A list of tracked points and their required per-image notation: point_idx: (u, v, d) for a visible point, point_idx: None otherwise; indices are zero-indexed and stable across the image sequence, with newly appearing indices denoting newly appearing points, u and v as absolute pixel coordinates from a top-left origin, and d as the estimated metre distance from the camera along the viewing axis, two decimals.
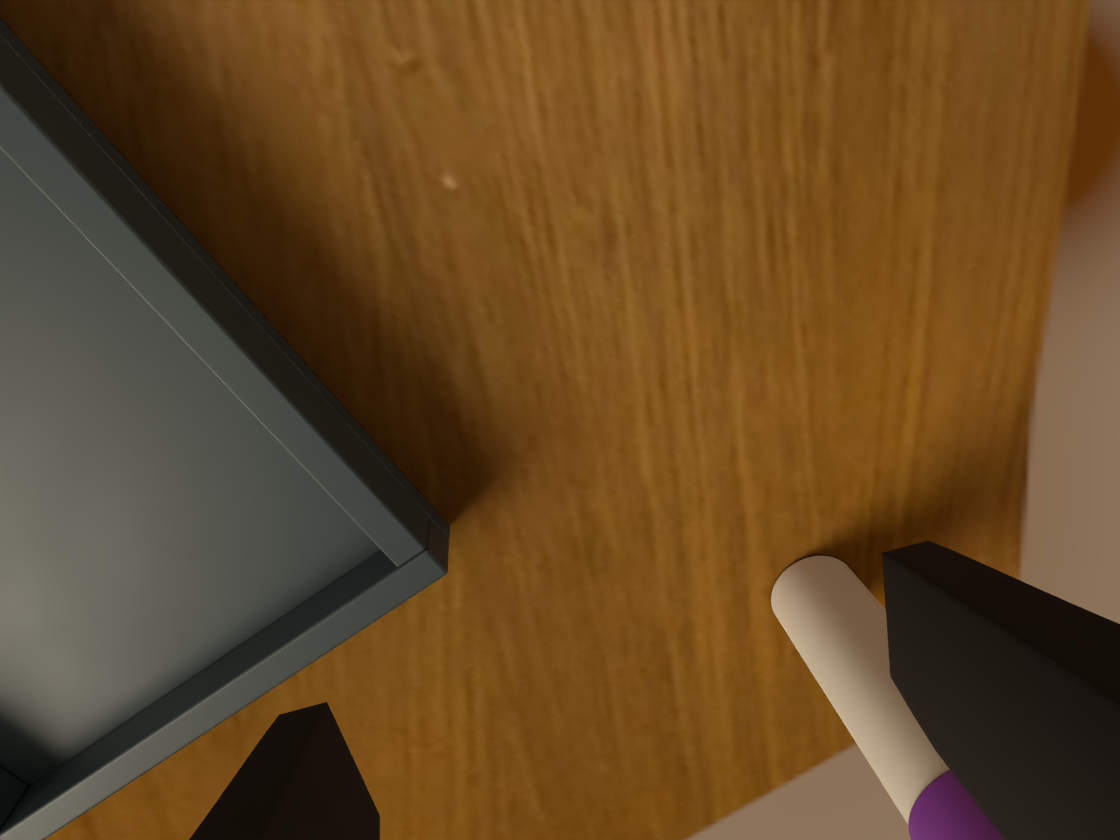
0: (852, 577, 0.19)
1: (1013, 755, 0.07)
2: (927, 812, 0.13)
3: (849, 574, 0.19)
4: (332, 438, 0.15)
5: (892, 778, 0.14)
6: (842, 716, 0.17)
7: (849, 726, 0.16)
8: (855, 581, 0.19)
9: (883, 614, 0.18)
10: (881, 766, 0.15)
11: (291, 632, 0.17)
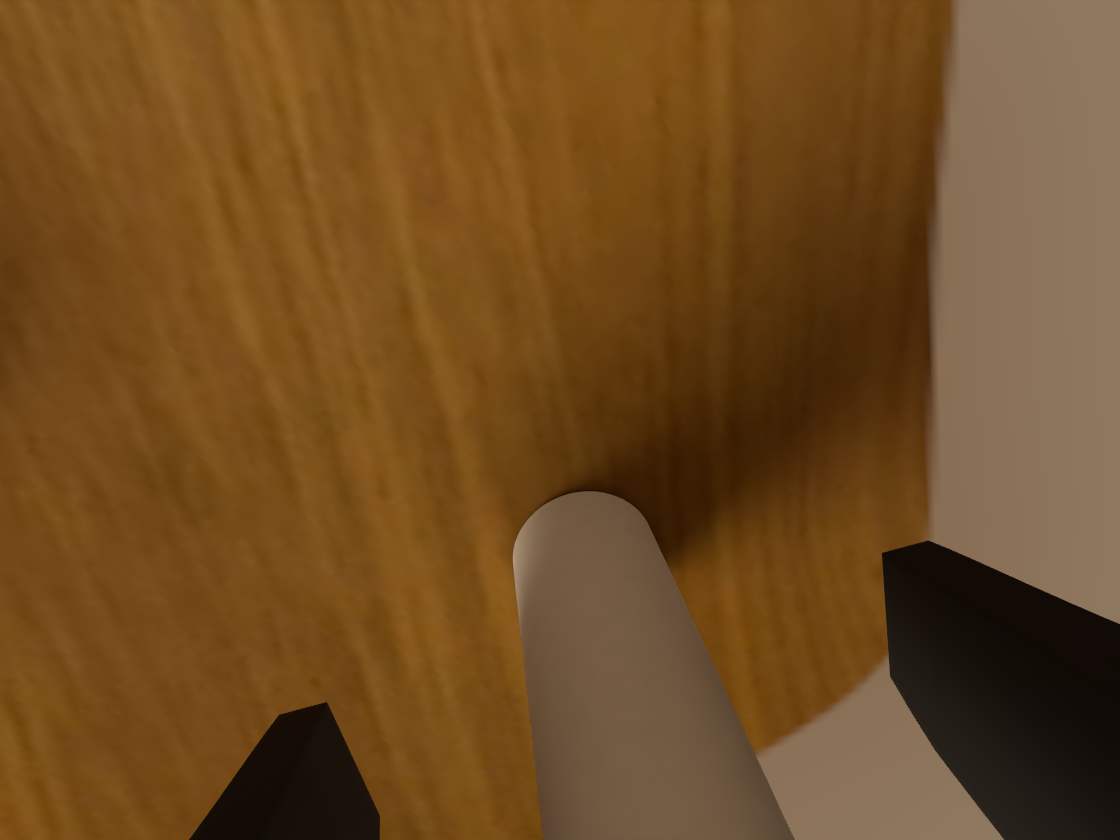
0: (627, 523, 0.11)
1: (1013, 755, 0.07)
2: None
3: (624, 519, 0.11)
4: None
5: None
6: None
7: None
8: (628, 529, 0.11)
9: (650, 582, 0.10)
10: None
11: None
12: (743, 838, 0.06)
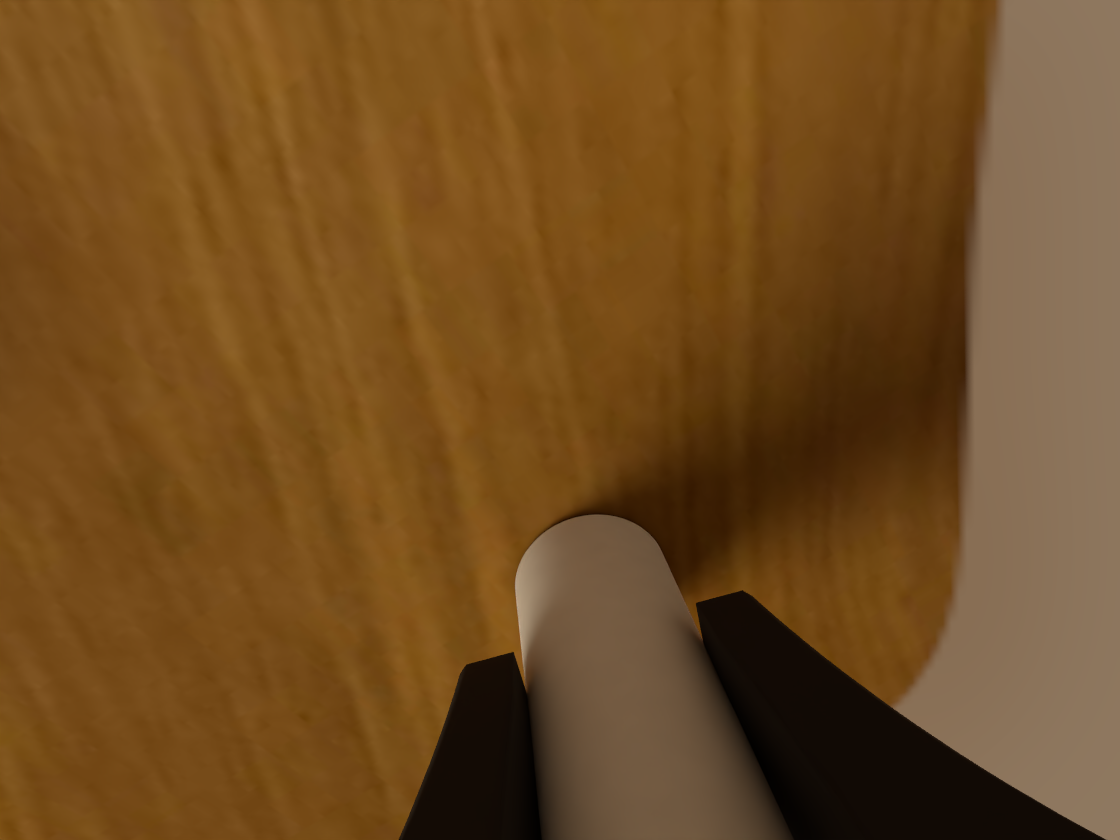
0: (639, 552, 0.10)
1: (787, 818, 0.07)
2: None
3: (635, 546, 0.10)
4: None
5: None
6: None
7: None
8: (640, 558, 0.10)
9: (665, 621, 0.09)
10: None
11: None
12: None
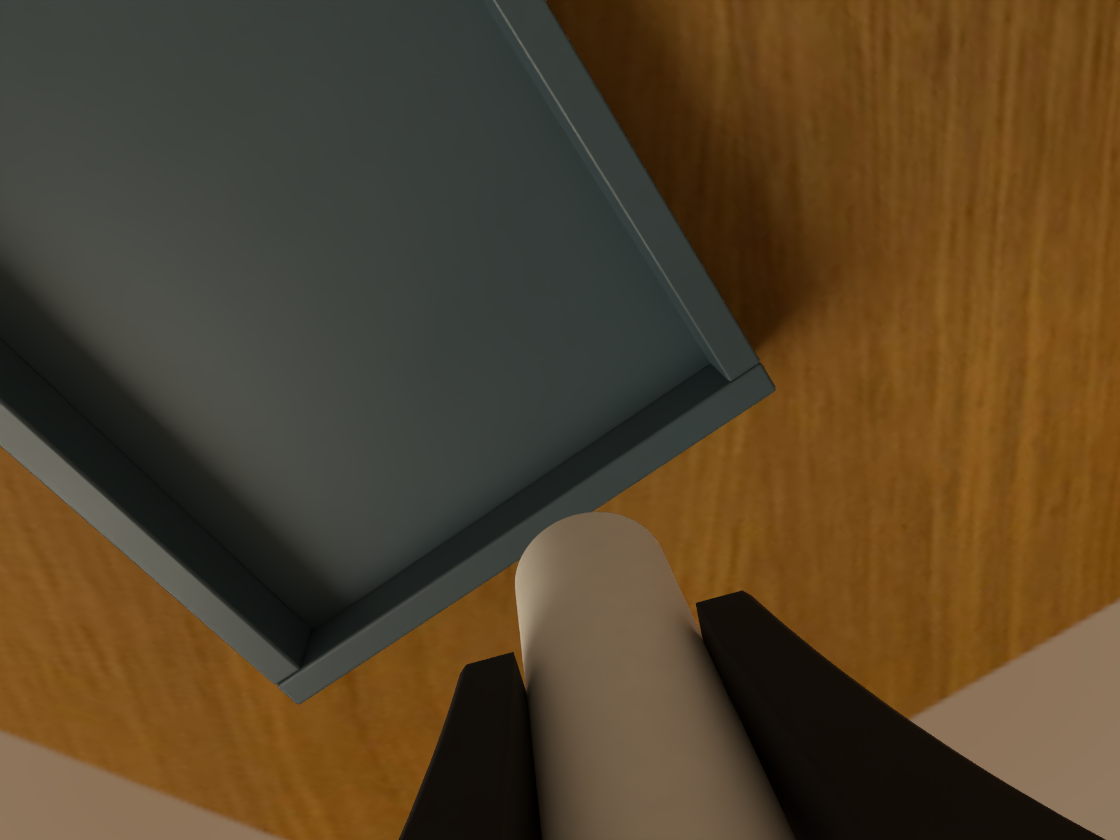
0: (639, 549, 0.10)
1: (786, 818, 0.07)
2: None
3: (636, 543, 0.10)
4: None
5: None
6: None
7: None
8: (640, 556, 0.10)
9: (666, 618, 0.09)
10: None
11: (610, 455, 0.17)
12: None
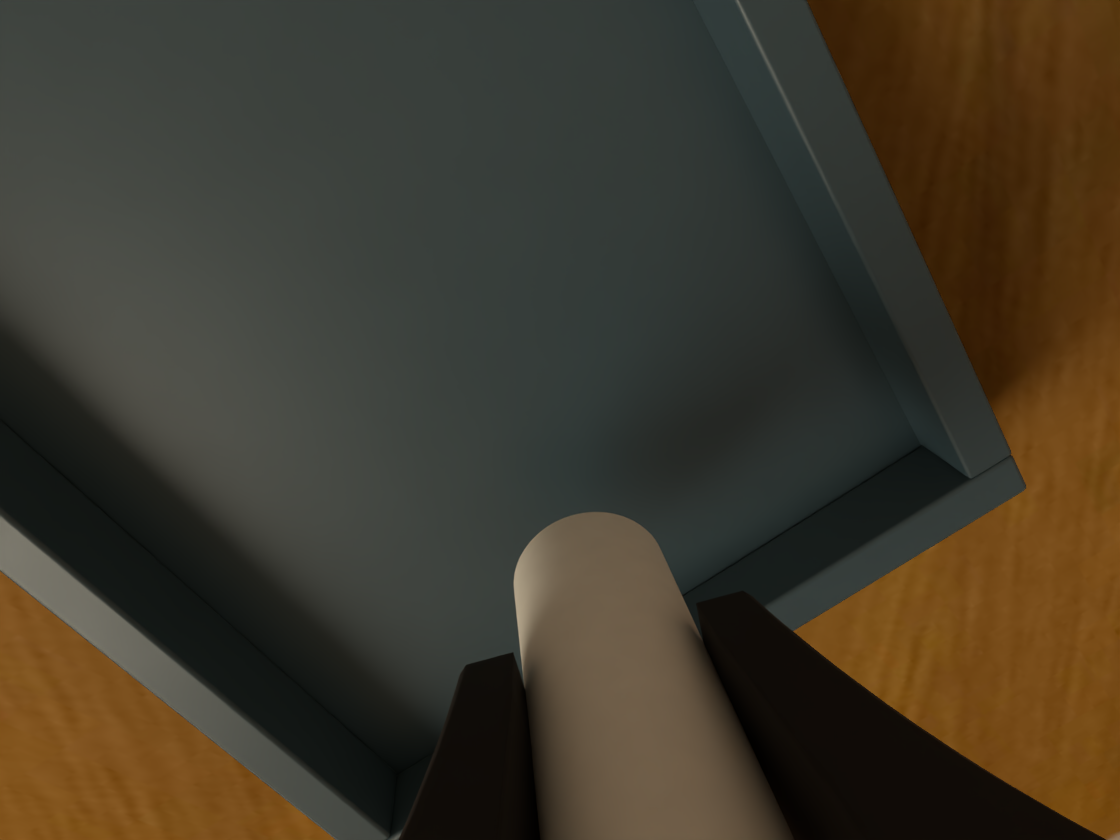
0: (638, 549, 0.10)
1: (787, 818, 0.07)
2: None
3: (634, 544, 0.10)
4: None
5: None
6: None
7: None
8: (639, 556, 0.10)
9: (664, 618, 0.09)
10: None
11: (801, 570, 0.13)
12: None
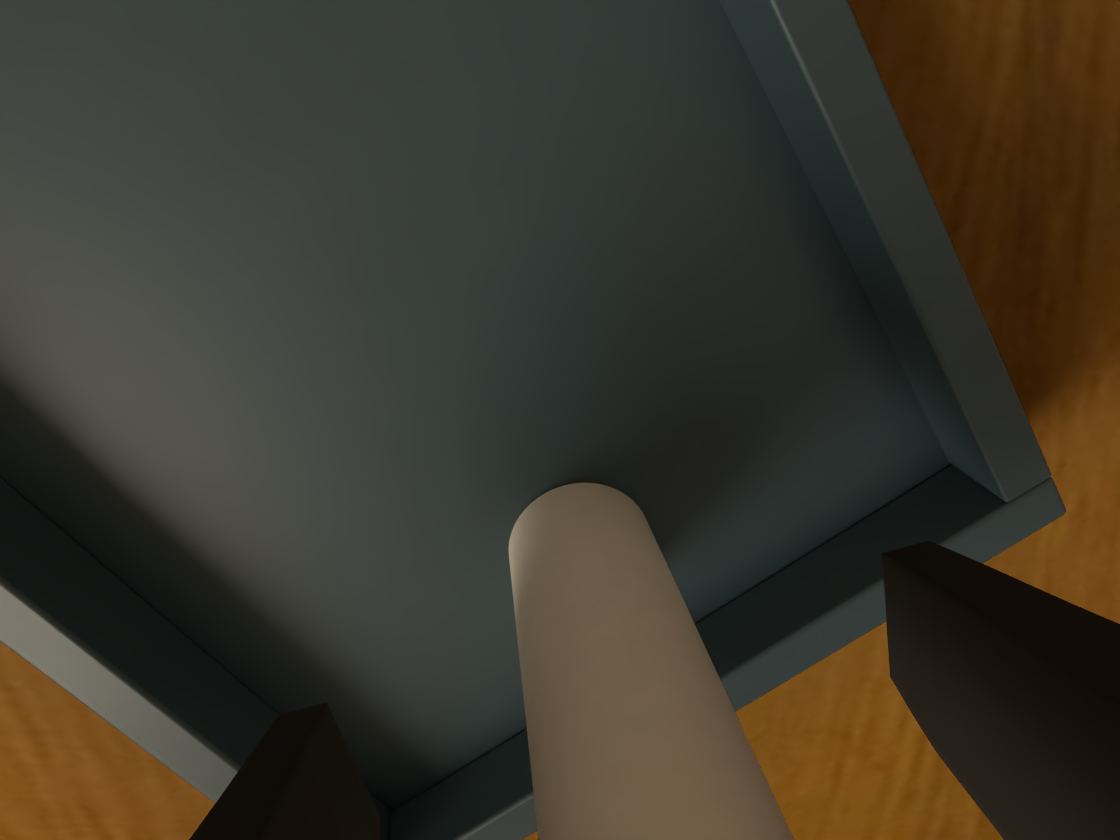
0: (623, 515, 0.11)
1: (1013, 755, 0.07)
2: None
3: (620, 510, 0.11)
4: None
5: None
6: None
7: None
8: (624, 521, 0.11)
9: (645, 573, 0.10)
10: None
11: (823, 598, 0.12)
12: (737, 827, 0.06)
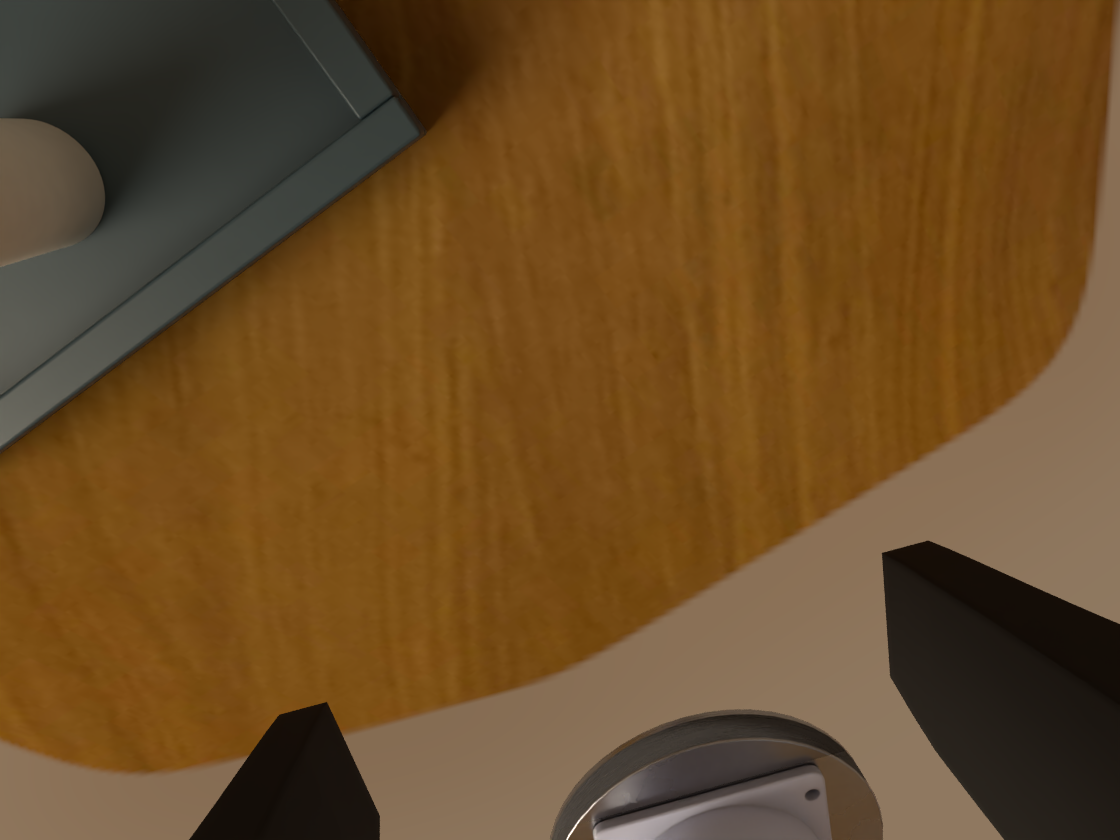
0: (25, 125, 0.13)
1: (1013, 755, 0.07)
2: None
3: (27, 124, 0.13)
4: None
5: None
6: None
7: None
8: (17, 124, 0.13)
9: None
10: None
11: (232, 220, 0.14)
12: None
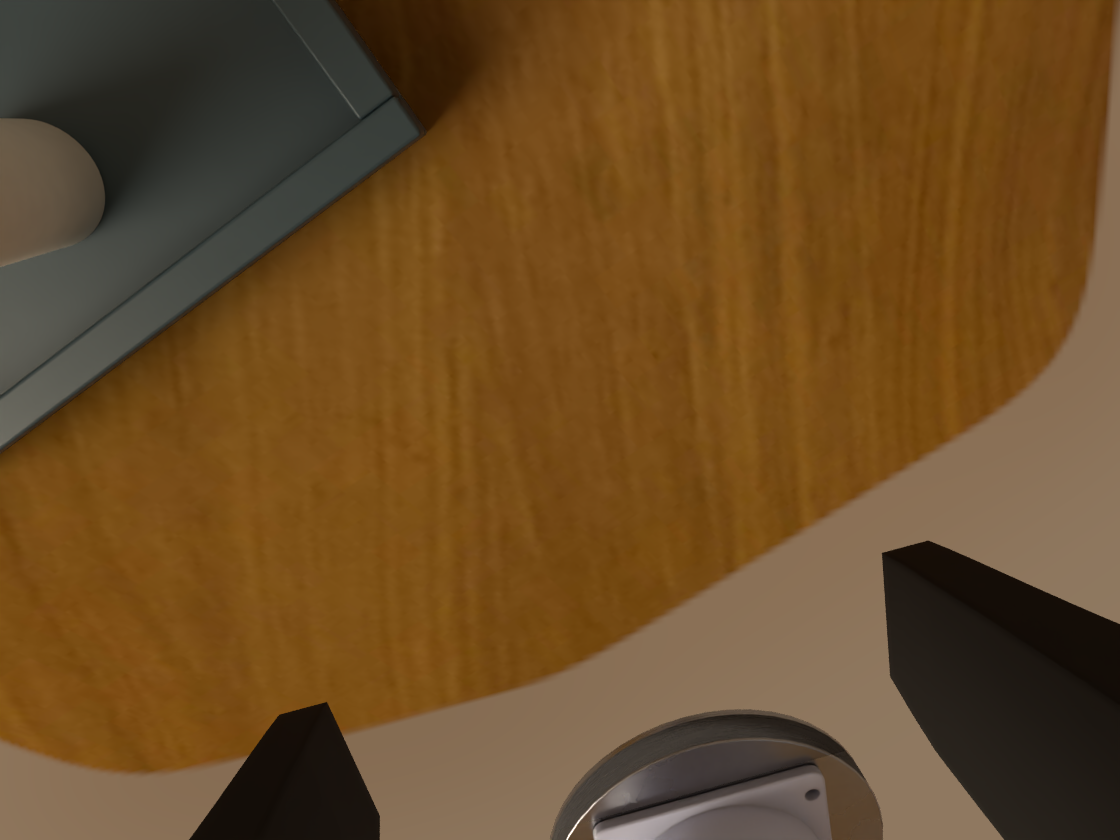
0: (25, 125, 0.13)
1: (1013, 755, 0.07)
2: None
3: (27, 124, 0.13)
4: None
5: None
6: None
7: None
8: (17, 124, 0.13)
9: None
10: None
11: (232, 220, 0.14)
12: None
